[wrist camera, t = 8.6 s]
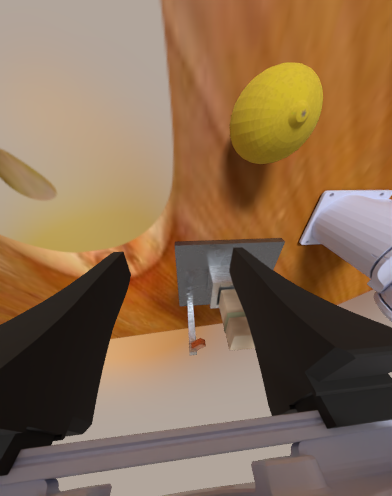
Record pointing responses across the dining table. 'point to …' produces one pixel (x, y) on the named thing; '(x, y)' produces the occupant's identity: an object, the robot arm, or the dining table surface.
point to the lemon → (276, 113)
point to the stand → (213, 272)
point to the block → (235, 321)
